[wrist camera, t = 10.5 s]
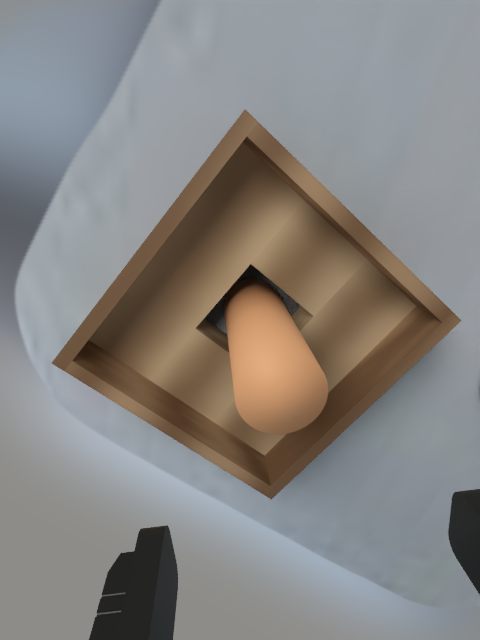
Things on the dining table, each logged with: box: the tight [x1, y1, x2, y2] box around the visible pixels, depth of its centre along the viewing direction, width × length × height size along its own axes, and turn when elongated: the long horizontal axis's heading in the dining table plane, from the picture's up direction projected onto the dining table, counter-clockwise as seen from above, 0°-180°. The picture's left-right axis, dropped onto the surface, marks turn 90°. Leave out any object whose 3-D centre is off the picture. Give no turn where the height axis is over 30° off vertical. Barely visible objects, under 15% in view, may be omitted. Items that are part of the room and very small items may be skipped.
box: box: [52, 110, 461, 499], centre depth 25 cm, size 17×17×6 cm
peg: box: [224, 278, 328, 434], centre depth 22 cm, size 4×4×12 cm
